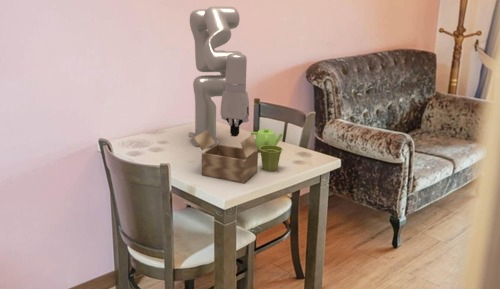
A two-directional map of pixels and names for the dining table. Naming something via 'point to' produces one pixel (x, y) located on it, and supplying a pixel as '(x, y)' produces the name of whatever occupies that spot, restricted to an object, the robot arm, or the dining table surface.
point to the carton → (229, 163)
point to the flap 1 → (204, 140)
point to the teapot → (266, 138)
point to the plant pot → (270, 156)
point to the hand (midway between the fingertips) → (234, 135)
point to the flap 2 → (249, 146)
